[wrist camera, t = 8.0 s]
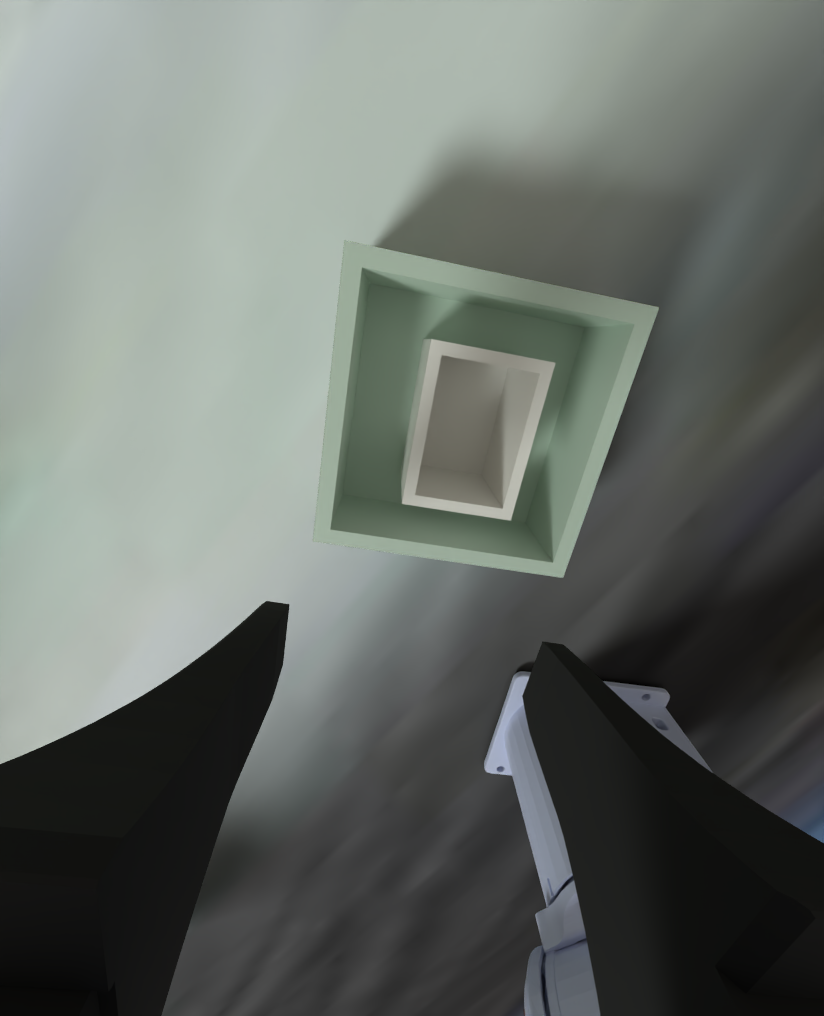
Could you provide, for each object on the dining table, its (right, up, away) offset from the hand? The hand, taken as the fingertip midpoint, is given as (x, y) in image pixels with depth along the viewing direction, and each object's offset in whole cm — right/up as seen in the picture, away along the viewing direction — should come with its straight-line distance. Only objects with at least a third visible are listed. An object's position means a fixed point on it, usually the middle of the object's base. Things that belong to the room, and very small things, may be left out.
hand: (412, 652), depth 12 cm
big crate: (+2, +8, +7) cm, 11 cm away
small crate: (+2, +8, +7) cm, 11 cm away
